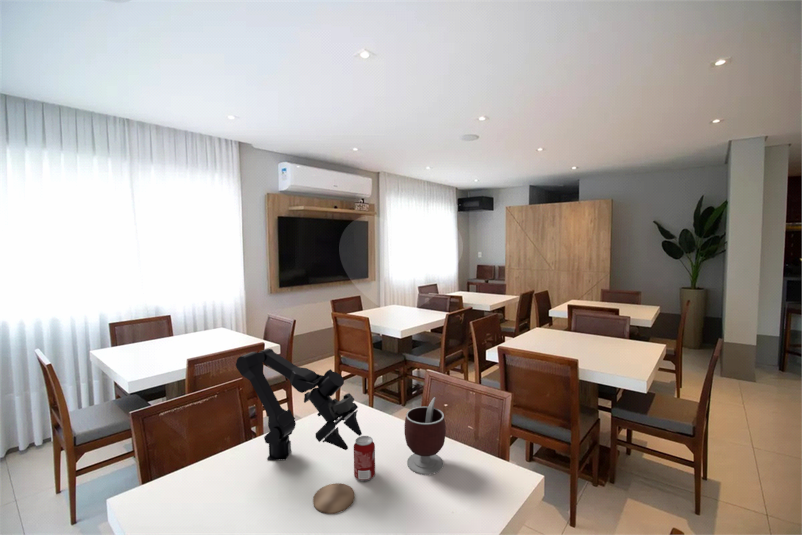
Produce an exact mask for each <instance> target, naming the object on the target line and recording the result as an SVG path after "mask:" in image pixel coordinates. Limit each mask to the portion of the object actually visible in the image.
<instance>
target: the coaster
mask: <svg viewBox="0 0 802 535" xmlns="http://www.w3.org/2000/svg"><path fill="white" fill-rule="evenodd" d="M355 499H356V498H355V490H354V489H353V488H352V487H351V486H349V484H345V483H339V482H338V483H337V482H336V483H330V484H326V485H325V486H322V487H320V488H319V489H318V490H316V492H315V494H314V495H313V499H312V505H313V508H314V509H315V510H316V511H317V512H320V513H322V514H326V515H333V514H334V515H335V514H339V513H342V512H344V511H346V510H347V509H349V508H350V507H351V506H352V505H353V503H354V502H355Z"/></svg>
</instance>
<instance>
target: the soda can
mask: <svg viewBox="0 0 802 535" xmlns="http://www.w3.org/2000/svg"><path fill="white" fill-rule="evenodd" d="M354 442H355V443H354V444H353V476H354V478H355V479H356V480H358V481H360V482H367V481H370V480H372V479H373V478H374V477H375V475H376V458H375V457H376V444H375V442H374V440H373V437H371V436H369V435H360V436H358V437H357V438H356V439H355V441H354Z"/></svg>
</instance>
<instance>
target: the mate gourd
mask: <svg viewBox="0 0 802 535" xmlns="http://www.w3.org/2000/svg"><path fill="white" fill-rule="evenodd" d="M436 400H437V398H436V397H435V396H434V397H433V398H432V399H431V401H430V402H429V404H428V406H417V407H413V408H411V409H410V408H409V410H408V411H407V412H406V413H405V419H404V437H405V439H404V440H405V443H406V446H407V447H408V449H410V451H411V452H412V453H413V454H411V455H410V456H409V457H408V458H407V461H406V465H407V467H408V469H409V470H410V471H411V472H413V473H414V472H415V474H417V475H421V474H422V476H430V475H429V474H431V475H435V474H437V473H439V472H440V471H441V470H442V469H443V468H444V460H443V458H442V457H441V456H439V455H438V453H439V452H440V451H441V450H442V448H443V447H444V444H445V441H446V435H447V434H446V433H447V432H446V430H447V429H446V419H445V415H444V412H443V411H442V410H440V409H438V408H435V401H436ZM442 467H443V468H442ZM434 473H435V474H434Z"/></svg>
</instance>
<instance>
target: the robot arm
mask: <svg viewBox="0 0 802 535" xmlns="http://www.w3.org/2000/svg"><path fill="white" fill-rule="evenodd" d="M264 364H265V365H266V366H267V367H269V368H271V369H272V370H274V371H275V372H277V373H279V375H281V376H283V377H285V378H286V379H288V380H289V384H290V385H291V387H293V388H294V389H295V390H296V391H297V392H298V393H302V394H303V393H304V398H303V403H305V404H306V403H307V402H309V401H310V403H311V404H312V405H313V407H314V408H315V409H316V411H317V412H318V413H317V414H316V416H317V417H322V418H323V419H324V421H325V422H326V423H324V425H322V427H320V429H318V430H317V432H316V433H315V439H316V440H317V441H318V442H319V443H321V441H322V443H325V442H326V443H327V444H331V445H333V446H336V447H338V448H340V449H342V450H345V451H347V450H349V447H348V445H347V443H346V442H345V440H344V439H343V438H342V436H341V435H340V433H339V426H337V425H338V424H339V423H340V422H342V421H343V424H344V425H345V426H346V427H347V428H349V430H351V432H352V431H353V432H354V434H356V435H357V436H358V437H360V436H363V433H362V430H361V427H360V425H359V422H358V419H357V412H358V408H359V406H358V405H357V404H356V403H355V402H354V401H355V398H354V396H353V395H352V394H351V393H350V392H348V393H346V394H345V395H343V398H342V399H341V400H338V399H337V398H334V399H333V398H332V396H334V395H335V394H336V392H338V391H339V390H340V389H341V387H342V386H343V385H344V384H345V381H344V377H343V376H342V375H341V374H340V373H338V372H337V371H333V370H332V369H331V368H330V369H328V370H327V371H325V373H324V375H322V374H319V373H316V371H314V370H312V369H309V368H306V367H300V366H297V365H295V364H294V363H292V362H291V361H289V360H288V359H286V358H284V357H283V356H281V355H280V354H278V353H277V352H275V351H274V350H273V349H272V348H266V349H263V350H260V351H259V352H256V351H251V352H249V353H246V354H243V355H240V356H239V357H237V359H236V363H235V367H236V369H237V370H238V372H239V373H240V375H241V376H242V377H244V378H245V379H247V380H249V382H250V383H251V385H252V387H253V390H254V391H255V393H256V395H257V397H258V399H259V400H260V403H261V405H262V406H263V408H264V411H265V412H266V415H267V416H268V417H267V418H268V422H267V425H268V426H267V427H268V429H269V431H268V433H267V434H266V435H265V436H264V437H263V438H264V442H265V444H267V445H268V457H267V458H266V459H267V460H268V461H286V460H287V458H288V456H289V455H290V454H291V452H292V444H291V443H292V441H291V440H290V435H292V434H293V431H295V428H296V425H297V424H296V421H295V420H296V417H294V415H293V413H292V411H291V409H287V410H286V409H284V408H283V407H282V406H281V404H280V402H279V400H278V398H277V396H276V394H275V393H274V391H273V388H272V387H271V385H270V384H269V382H268V380H267V377H266V376H265V374H264ZM307 391H308V392H307ZM336 426H337V427H336Z"/></svg>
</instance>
